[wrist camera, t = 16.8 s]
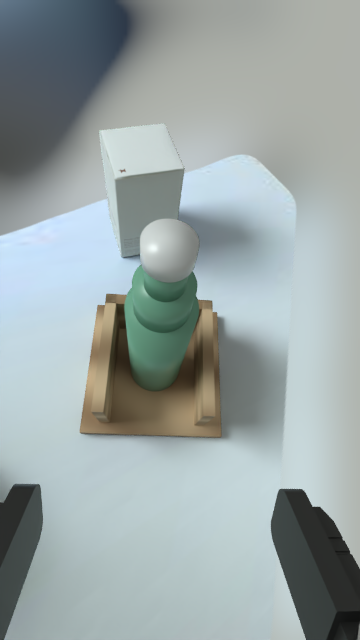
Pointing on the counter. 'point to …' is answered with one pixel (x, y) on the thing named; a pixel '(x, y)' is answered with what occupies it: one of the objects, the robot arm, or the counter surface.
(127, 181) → the supplement box
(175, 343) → the green bottle
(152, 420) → the U stand
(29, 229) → the counter surface
